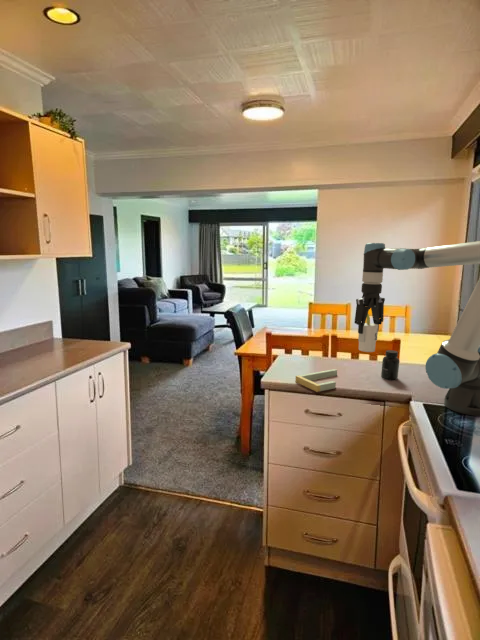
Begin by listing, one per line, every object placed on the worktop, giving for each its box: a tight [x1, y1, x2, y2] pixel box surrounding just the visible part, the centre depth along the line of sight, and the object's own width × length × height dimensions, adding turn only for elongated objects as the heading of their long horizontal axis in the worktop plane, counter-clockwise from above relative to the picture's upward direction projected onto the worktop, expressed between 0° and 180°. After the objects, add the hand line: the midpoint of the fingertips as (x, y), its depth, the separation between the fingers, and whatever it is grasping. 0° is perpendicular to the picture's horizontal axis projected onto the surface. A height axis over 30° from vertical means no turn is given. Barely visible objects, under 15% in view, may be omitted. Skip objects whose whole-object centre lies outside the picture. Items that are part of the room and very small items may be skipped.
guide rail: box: [295, 368, 338, 393], centre depth 168 cm, size 14×22×2 cm, turn 120°
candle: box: [358, 313, 378, 353], centre depth 162 cm, size 6×6×15 cm
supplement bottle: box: [380, 349, 400, 381], centre depth 175 cm, size 7×7×12 cm
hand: (367, 340), depth 163 cm, fingers closed on candle, 6 cm apart
